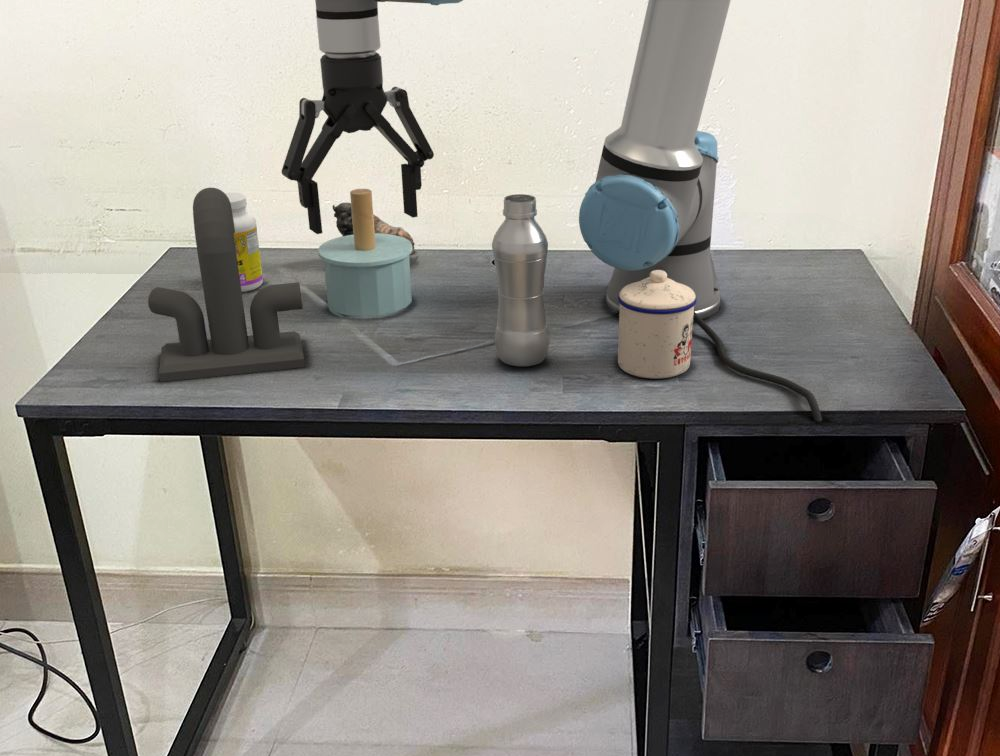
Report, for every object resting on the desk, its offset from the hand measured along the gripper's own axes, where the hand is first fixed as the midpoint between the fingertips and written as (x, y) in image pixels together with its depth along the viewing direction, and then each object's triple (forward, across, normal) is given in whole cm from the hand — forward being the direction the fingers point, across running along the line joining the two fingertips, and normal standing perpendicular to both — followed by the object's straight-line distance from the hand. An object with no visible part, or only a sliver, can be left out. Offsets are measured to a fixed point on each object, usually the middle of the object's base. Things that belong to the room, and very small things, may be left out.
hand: (364, 223), depth 152 cm
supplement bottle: (+12, +13, -17) cm, 24 cm away
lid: (+4, 0, 0) cm, 4 cm away
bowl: (+11, 0, 0) cm, 11 cm away
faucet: (+12, +21, +6) cm, 25 cm away
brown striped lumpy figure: (+12, -7, -13) cm, 19 cm away
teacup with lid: (+12, -22, +36) cm, 44 cm away
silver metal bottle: (+12, -8, +28) cm, 31 cm away
